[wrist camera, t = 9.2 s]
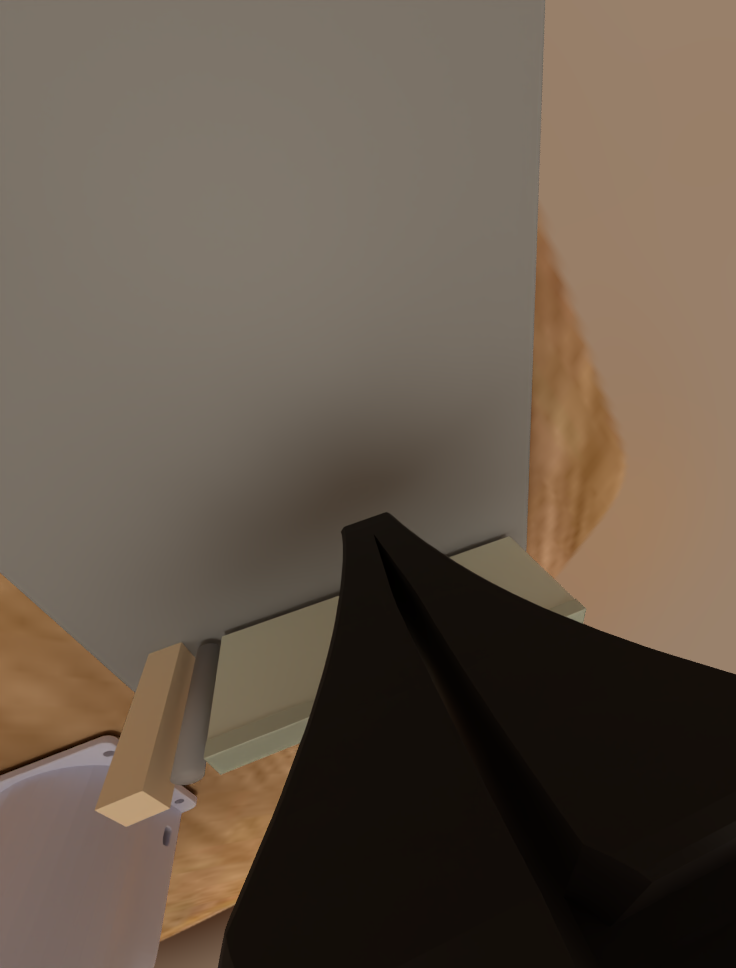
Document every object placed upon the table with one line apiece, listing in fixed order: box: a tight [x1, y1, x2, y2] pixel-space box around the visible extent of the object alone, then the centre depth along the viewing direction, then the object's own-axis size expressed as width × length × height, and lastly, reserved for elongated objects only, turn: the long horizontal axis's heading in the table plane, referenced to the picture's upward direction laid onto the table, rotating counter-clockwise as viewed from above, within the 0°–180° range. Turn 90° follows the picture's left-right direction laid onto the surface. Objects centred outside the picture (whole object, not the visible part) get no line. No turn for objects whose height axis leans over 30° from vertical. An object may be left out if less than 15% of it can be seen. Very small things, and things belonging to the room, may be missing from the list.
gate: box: [170, 536, 586, 785], centre depth 14 cm, size 15×1×5 cm, turn 101°
